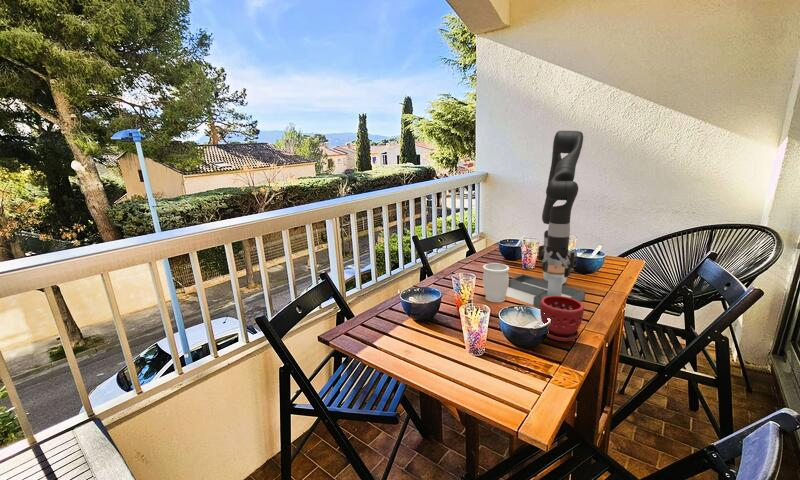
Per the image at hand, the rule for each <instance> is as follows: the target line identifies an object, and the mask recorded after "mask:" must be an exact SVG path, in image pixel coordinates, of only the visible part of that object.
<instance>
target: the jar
mask: <svg viewBox="0 0 800 480" xmlns="http://www.w3.org/2000/svg"><path fill="white" fill-rule="evenodd" d="M482 269H483V270H484V271H483V272H482V274H483V275H482V285H483V291H484V295H485V297H484V298H485V299H484V300H486V301H488V302H491V303H503V302H504V301H506V298H505V297H506V293H507V289H508V287H509V279H510V275H509V271H510V267H509V265H506V264H504V263H499V262H498V263H496V262H494V263H493V262H492V263H486V264H483V266H482Z"/></svg>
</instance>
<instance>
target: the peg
mask: <svg viewBox="0 0 800 480" xmlns="http://www.w3.org/2000/svg"><path fill="white" fill-rule="evenodd" d="M562 285H563V284H562V277H561V276H559V275H549V278H548V293H547V296H561V291H562ZM555 303H557V302H555Z"/></svg>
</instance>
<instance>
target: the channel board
mask: <svg viewBox="0 0 800 480" xmlns="http://www.w3.org/2000/svg"><path fill="white" fill-rule="evenodd" d="M522 283H524V284H528V283H525V282H522ZM528 285H531V286H534V287H538V286H535V285H532V284H528ZM538 288H541V289H544V290H548V289H545V288H542V287H538ZM561 296H563V297H568V298H571V297H572V296H569V295H565V294H562V293H561ZM505 297H509V298H512V299H514V300H517V301H520V302H523V303H525V304H529V305H532V306H535V305H533V303H534V297H535V295H532V294H529V293H526V292H523V291H520V290H517V289H514V288H510V287H509V286H508V289H507V293H506V295H505ZM583 301H584V300H582V301H581V302H583ZM535 307H538V306H535ZM538 308H539V307H538Z"/></svg>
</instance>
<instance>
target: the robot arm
mask: <svg viewBox="0 0 800 480" xmlns="http://www.w3.org/2000/svg"><path fill="white" fill-rule="evenodd" d="M583 143H584V133H583V132H582V131H579V130H557V132H555V135H554V138H553V142H552V156H551V164H550V171H549V175H548V182H547V186H546V189H545V195H546V196H545V202H544V205H543V209H542V214H541V215H542V216H541V221H542V223H543V224H545V225H548V227H547V230H545V231H544V232H543V233H544V235H543V245H542V244H541V245H539V247H538V253H537V260H538V261H541V262H542V263H541V264H542V265H541V268H542V272H543V271H544V272H546V271H548V265H558V266H562V265H563V267H565V271H564V277H567V278H568V277H569V276H570V275H571V269H574V268H575V267H577V262H578V261H577V260H578V259H577V258H578V257H577V256H578V252H577V251H576V250H575V251H571V250H569V245H570V236H571V234H570V233H571V214H572V209H573V205H574V202H575V200H576V198H577V195H578V194H579V193H578V192H579V184H578V183H577V182H576V181H574V179H575V175H576V166H577V164H578V162H579V161H578V160H579V158H580V154H581V152H582V151H581V150H582V148H583ZM561 154H566V155H565V156H563V157H562V155H561ZM558 201H566V202H565V203H564V204H561V205H555V204H556V202H558ZM568 256H569V257H568Z"/></svg>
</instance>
